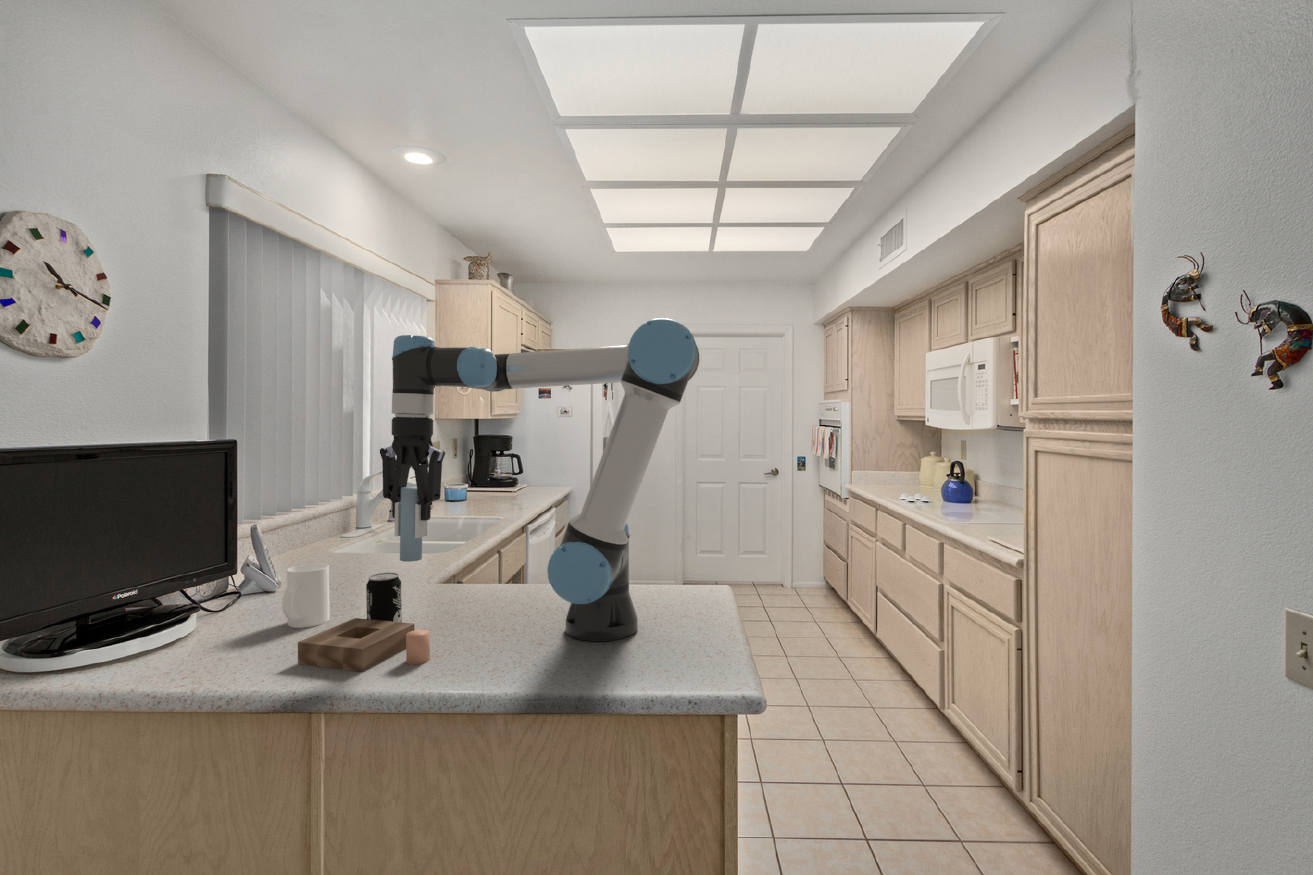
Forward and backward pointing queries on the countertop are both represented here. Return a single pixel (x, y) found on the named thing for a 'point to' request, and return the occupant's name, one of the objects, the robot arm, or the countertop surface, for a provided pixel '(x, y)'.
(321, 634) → the hole block
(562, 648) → the countertop surface
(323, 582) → the mug
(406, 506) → the long dowel
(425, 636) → the short dowel
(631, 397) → the robot arm
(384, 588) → the beverage can
